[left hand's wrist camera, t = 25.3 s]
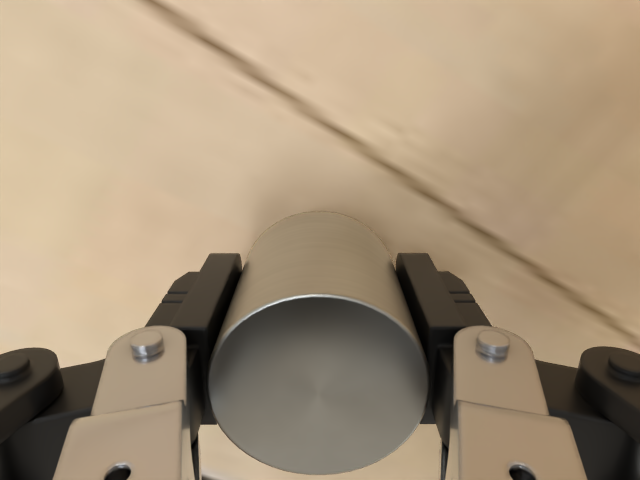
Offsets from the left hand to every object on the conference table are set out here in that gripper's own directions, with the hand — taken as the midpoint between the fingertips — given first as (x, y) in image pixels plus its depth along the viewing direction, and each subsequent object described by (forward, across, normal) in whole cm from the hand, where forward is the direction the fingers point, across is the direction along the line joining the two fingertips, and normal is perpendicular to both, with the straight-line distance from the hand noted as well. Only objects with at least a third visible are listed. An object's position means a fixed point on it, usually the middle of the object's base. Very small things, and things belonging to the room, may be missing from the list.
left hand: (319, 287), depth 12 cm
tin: (0, 0, 0) cm, 0 cm away
